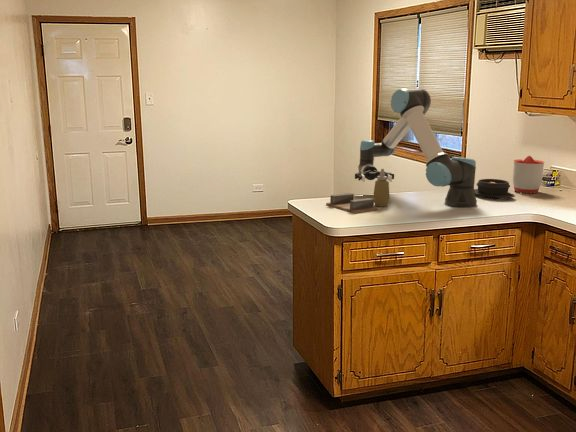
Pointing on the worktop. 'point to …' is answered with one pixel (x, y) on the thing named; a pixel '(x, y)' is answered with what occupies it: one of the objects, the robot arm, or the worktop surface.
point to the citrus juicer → (527, 175)
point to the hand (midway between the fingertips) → (377, 179)
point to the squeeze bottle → (381, 190)
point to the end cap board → (347, 208)
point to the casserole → (493, 188)
